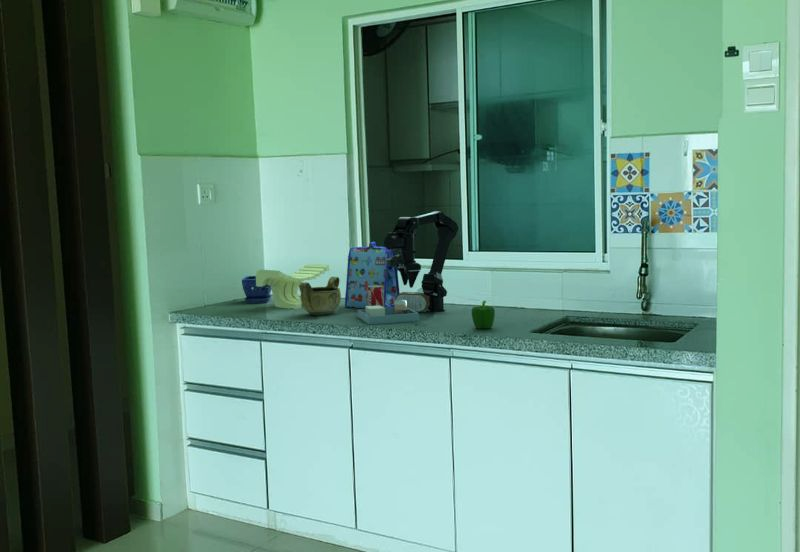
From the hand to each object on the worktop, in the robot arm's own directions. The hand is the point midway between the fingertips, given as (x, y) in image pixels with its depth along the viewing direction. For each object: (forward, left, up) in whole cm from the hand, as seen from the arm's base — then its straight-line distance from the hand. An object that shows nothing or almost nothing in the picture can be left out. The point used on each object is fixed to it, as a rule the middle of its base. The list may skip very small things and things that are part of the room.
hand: (408, 286), depth 337 cm
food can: (+5, +8, -12) cm, 15 cm away
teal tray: (+11, +8, -12) cm, 18 cm away
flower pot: (+54, -72, -12) cm, 91 cm away
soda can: (+12, -8, -12) cm, 19 cm away
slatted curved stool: (+40, -50, -12) cm, 65 cm away
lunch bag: (+8, -31, -12) cm, 34 cm away
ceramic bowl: (+33, -18, -12) cm, 40 cm away
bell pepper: (-17, +41, -12) cm, 46 cm away
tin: (-4, -9, -12) cm, 16 cm away
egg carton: (+16, +8, -12) cm, 21 cm away
